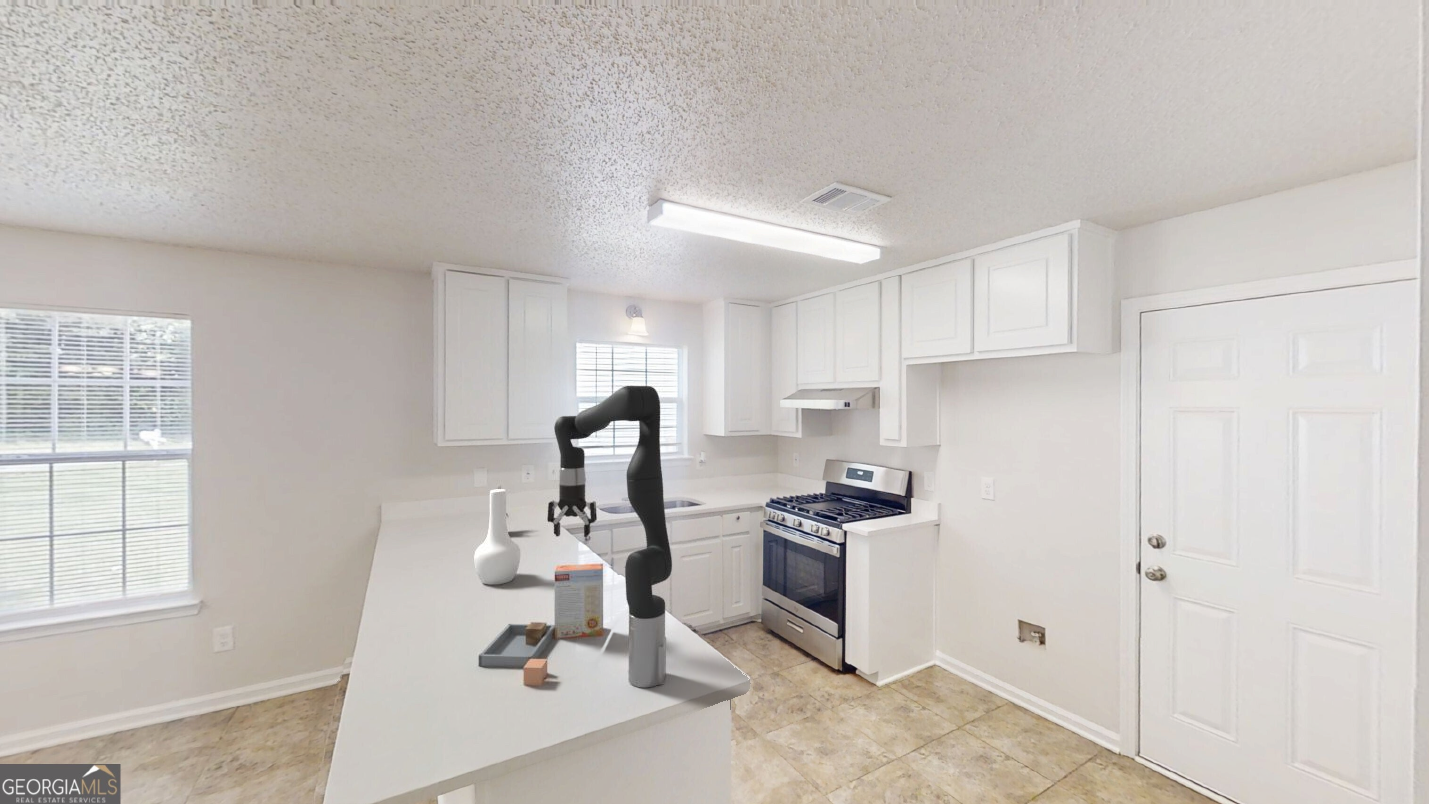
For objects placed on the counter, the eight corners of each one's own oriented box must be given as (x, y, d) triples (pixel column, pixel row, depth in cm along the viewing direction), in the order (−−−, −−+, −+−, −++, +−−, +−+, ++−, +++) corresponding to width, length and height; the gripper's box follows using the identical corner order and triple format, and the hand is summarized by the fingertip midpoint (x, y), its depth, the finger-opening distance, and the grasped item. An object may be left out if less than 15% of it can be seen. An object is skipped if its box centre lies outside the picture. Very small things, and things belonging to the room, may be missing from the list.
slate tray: (555, 636, 163) (555, 624, 163) (531, 670, 143) (531, 656, 143) (509, 635, 164) (509, 623, 164) (478, 668, 144) (478, 655, 144)
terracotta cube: (547, 676, 141) (547, 659, 140) (541, 685, 136) (541, 667, 136) (530, 676, 141) (530, 658, 141) (523, 685, 136) (523, 667, 136)
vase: (525, 582, 210) (525, 491, 210) (479, 590, 201) (479, 495, 200) (514, 570, 224) (514, 485, 224) (470, 577, 215) (470, 489, 214)
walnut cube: (546, 637, 161) (546, 622, 161) (541, 644, 156) (541, 629, 156) (531, 637, 161) (531, 622, 161) (525, 644, 156) (525, 628, 156)
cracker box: (603, 629, 168) (603, 562, 168) (602, 638, 162) (603, 568, 162) (556, 632, 166) (556, 564, 166) (553, 641, 160) (554, 570, 160)
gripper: (544, 484, 160) (544, 539, 160) (592, 484, 159) (592, 539, 160) (552, 480, 167) (552, 532, 168) (599, 480, 167) (598, 533, 167)
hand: (572, 536), depth 164 cm, fingers open, 8 cm apart
